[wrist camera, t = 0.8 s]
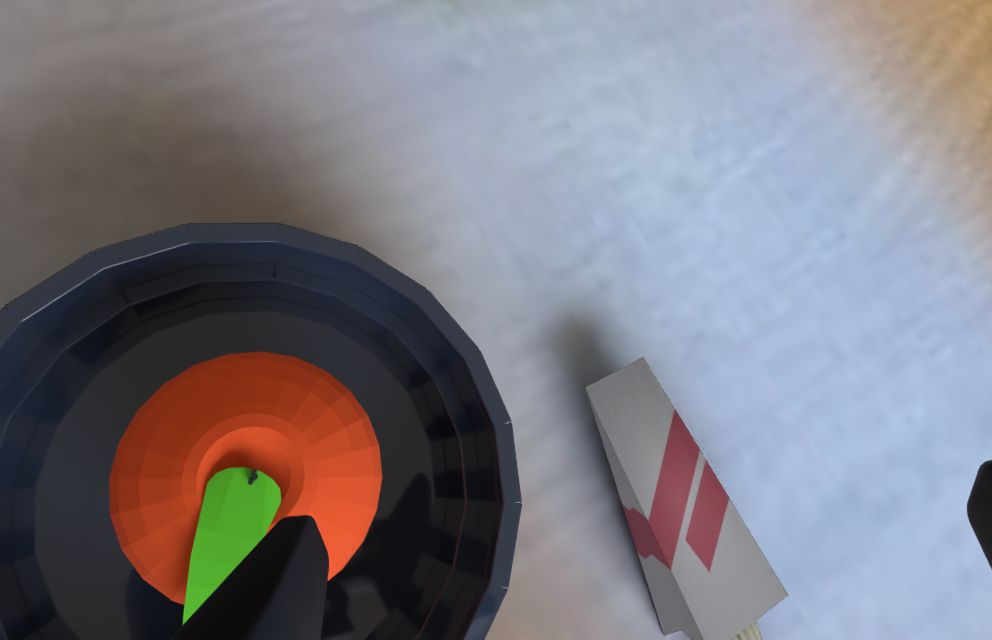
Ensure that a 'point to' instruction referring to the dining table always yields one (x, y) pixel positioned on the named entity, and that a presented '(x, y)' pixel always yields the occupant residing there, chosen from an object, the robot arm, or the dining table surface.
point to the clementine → (240, 470)
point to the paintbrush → (680, 514)
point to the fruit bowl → (243, 329)
